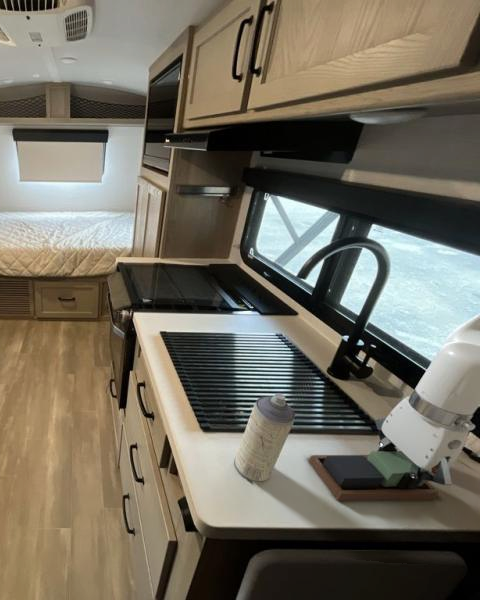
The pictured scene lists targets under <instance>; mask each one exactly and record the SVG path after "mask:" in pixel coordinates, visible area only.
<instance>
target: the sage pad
mask: <svg viewBox="0 0 480 600" xmlns="http://www.w3.org/2000/svg"><path fill="white" fill-rule="evenodd" d="M368 455H369V456H368V458H367V460H368V461H369V462H370V463H371V464H372V465H373V466H374V467H375V468H376V469H377V471H378V472H379V473H380V474H381V475H382V476H383V477H384V479H383V481H382V482H381V484H382V486H383V487H397V484H398V483H399V482H400V480H401V479H402V477H403V476H404V475H405V473H406V472H410V469H411V465H412V460H410V459H409V458H408V457H407V456H406V455H405V454H404V453H403V452H402V451H401V450H397V451H378V450H376V451H370V453H369V454H368ZM420 471H421V470H420ZM425 481H427V480H422V481H421V483H420V484H419V485H418V486H422V485H423V484H424V483H425Z"/></svg>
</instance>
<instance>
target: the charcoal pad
mask: <svg viewBox="0 0 480 600" xmlns="http://www.w3.org/2000/svg"><path fill="white" fill-rule="evenodd" d="M322 465H323V466H324V467H325V468H326V470H327V471H328V472H329V474H330V475H331V476H332V477H333V479H334V480H335V481H336V483H337V484H338V485H339V486H340V488H341V489H342V490H377V488H378V487H379V485H380V484H381V482H382V481H383V479H384V477H383V476H382V475H381V474H380V473H379V472H378V471H377V469H376V468H375V467H374V466H373V465H372V464H371V463H370V462H369V461H368V460H367V459H366V458H365V457H364V456H327V457H326V459H325V460H324V462H323V464H322Z"/></svg>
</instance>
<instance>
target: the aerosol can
mask: <svg viewBox="0 0 480 600" xmlns="http://www.w3.org/2000/svg"><path fill="white" fill-rule="evenodd" d="M295 418H296V413H295V411H294V409H293V408H292V407H291V406H290V405H289V404H288V403H287V401H286V396H285V395H284V394H282V393H280V392H277V393H274V395H273V396H272V395H271V396H261V397H259V398H257V399H256V401H255V403H254V404H253V407H252V410H251V413H250V416H249V418H248V421H247V424H246V427H245V430H244V432H243V436H242V439H241V441H240V443H239V446H238V449H237V451H236V455H235V458H234V462H233V464H234V468H235V470H236V472H237V473H238V474H239V475H240V476H241V477H242V478H244V479H245V480H246V481H248V482H250V483H253V481H255V482H265V481H267V480H269V478H270V477H271V475H272V473H273V471H274V469H275V466H276V463H277V461H278V460H279V457H280V455H281V452H282V450H283V448H284V445H285V443H286V441H287V440H288V437H289V434H290V432H291V430H292V427H293V426H294V423H295Z"/></svg>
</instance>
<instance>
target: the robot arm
mask: <svg viewBox="0 0 480 600" xmlns="http://www.w3.org/2000/svg"><path fill="white" fill-rule="evenodd" d="M479 407H480V312H479V313H478V314H476V315H475V316H473V317H471V318H470V319H468V320H467V321H466V322H465V323H463V324H462V325H460V326H458V327H457V328H455V329H454V331H452V332H451V333H450V334H449V335H447V337H446V338H445V339H444V340H443V342H442V344H441V347H440V348H439V349H438V351H437V352H436V354H435V356H434V357H433V359H432V360H431V362H430V364H429V365H428V368H427V369H426V370H425V372H424V373H423V375H422V377H421V378H420V380H419V381H418V383H417V385H416V387H415V388H414V390H413V391H412V392H411V394H410V395H409V396H406V397H405V398H403V399H402V400H401V401H399V402H398V403H397V404H396V406H394V408H393V409H392V410H391V411H390V413H389V414H388V415H387V417H386V418H378V419H375V420H374V422H375V426H376V429H377V433H378V434H377V435H378V437H379V441H378V445H379V448H378V449H377V451H398V450H399V451H402V452H403V453H404V454H405V455H406V456H407V457H408V458H409V459H410V460H412V465H411V469H410V472H406V473H405V475H404V476H403V477H402V479H401V480H400V482H399V483H398V484H397V487H398V488H399V489H410V490H411V489H416V488H417V487H418V485H419V484H420V483H421V481H422V480H426V481H427V482H433V483H435V484H438V485H442V486H451V485H452V484H453V481H452V477H451V472H450V470H451V468H452V466H453V465H454V464H455V462H456V461H457V460H458V458H459V456H460V454H461V452H462V451H463V449H464V446H465V444H466V441H467V438H468V436H469V435H468V434H469V431H473V430H475V428H476V425H475V424H474V423H472V421H471V420H472V418H473V417H474V413H475V412H476V411H477V409H478V408H479ZM433 467H435V470H436V472H431V470H432V468H433ZM420 470H421V471H420Z"/></svg>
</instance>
